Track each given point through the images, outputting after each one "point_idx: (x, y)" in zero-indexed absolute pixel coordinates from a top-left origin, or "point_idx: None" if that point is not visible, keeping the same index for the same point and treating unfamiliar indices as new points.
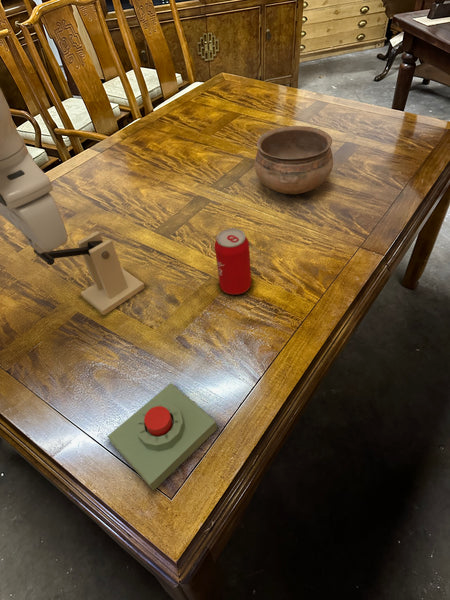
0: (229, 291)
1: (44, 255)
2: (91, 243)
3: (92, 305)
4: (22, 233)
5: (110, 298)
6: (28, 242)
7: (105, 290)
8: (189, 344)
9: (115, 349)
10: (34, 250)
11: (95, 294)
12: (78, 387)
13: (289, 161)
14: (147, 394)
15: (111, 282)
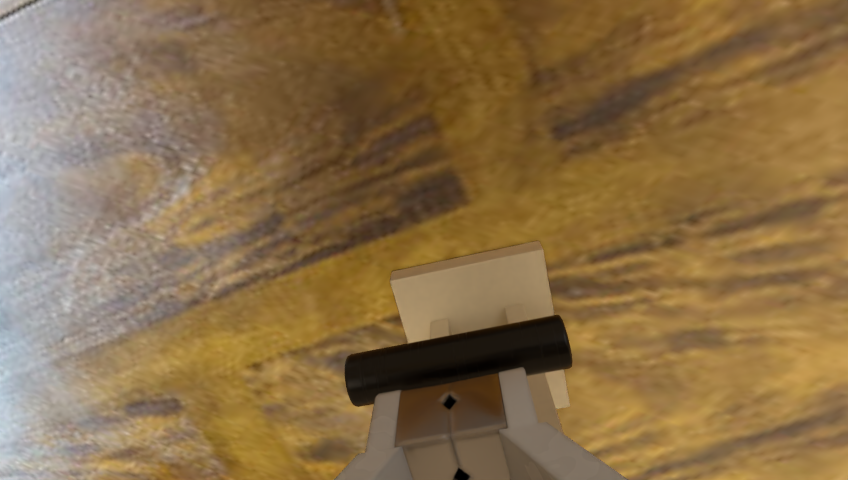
0: None
1: (415, 380)
2: None
3: (465, 256)
4: (580, 459)
5: (430, 326)
6: (527, 395)
7: None
8: (138, 415)
9: (219, 248)
10: (548, 335)
11: (492, 290)
12: (114, 92)
13: None
14: (9, 261)
15: None
